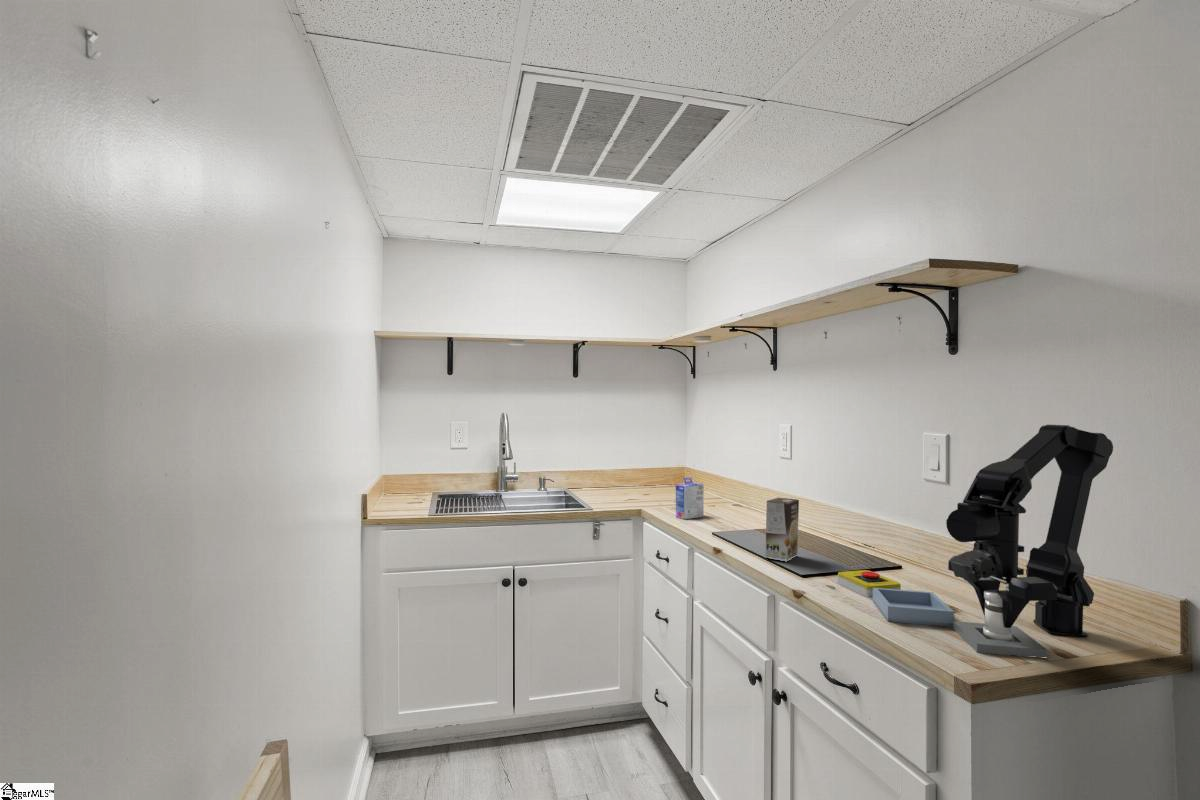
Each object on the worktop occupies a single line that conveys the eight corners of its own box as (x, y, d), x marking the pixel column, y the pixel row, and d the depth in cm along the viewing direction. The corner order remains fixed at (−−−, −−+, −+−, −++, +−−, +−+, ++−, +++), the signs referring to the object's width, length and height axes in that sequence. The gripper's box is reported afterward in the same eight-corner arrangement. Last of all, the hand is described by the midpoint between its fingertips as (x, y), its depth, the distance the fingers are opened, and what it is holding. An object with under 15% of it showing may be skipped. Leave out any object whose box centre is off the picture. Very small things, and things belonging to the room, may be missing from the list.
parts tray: (932, 606, 128) (932, 592, 128) (953, 626, 116) (954, 611, 116) (872, 601, 130) (872, 587, 130) (887, 621, 118) (887, 606, 118)
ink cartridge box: (694, 514, 225) (694, 476, 225) (704, 517, 220) (705, 478, 220) (674, 517, 219) (675, 478, 219) (684, 519, 215) (685, 479, 214)
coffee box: (787, 563, 159) (789, 503, 159) (764, 559, 163) (765, 500, 163) (798, 556, 167) (799, 499, 167) (775, 552, 171) (776, 496, 171)
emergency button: (873, 583, 130) (830, 564, 145) (872, 603, 130) (829, 582, 145) (908, 580, 133) (862, 562, 147) (907, 600, 133) (862, 580, 147)
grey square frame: (1016, 634, 113) (1016, 626, 113) (1047, 658, 102) (1047, 650, 102) (952, 628, 115) (953, 620, 115) (976, 652, 104) (977, 643, 104)
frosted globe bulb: (1005, 633, 110) (1006, 590, 110) (1016, 643, 106) (1017, 598, 106) (978, 631, 111) (979, 588, 111) (989, 640, 107) (990, 596, 107)
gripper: (924, 527, 116) (922, 606, 116) (1002, 552, 98) (1000, 646, 98) (974, 526, 118) (973, 604, 118) (1060, 550, 100) (1059, 643, 100)
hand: (997, 623), depth 108 cm, fingers closed on frosted globe bulb, 4 cm apart
